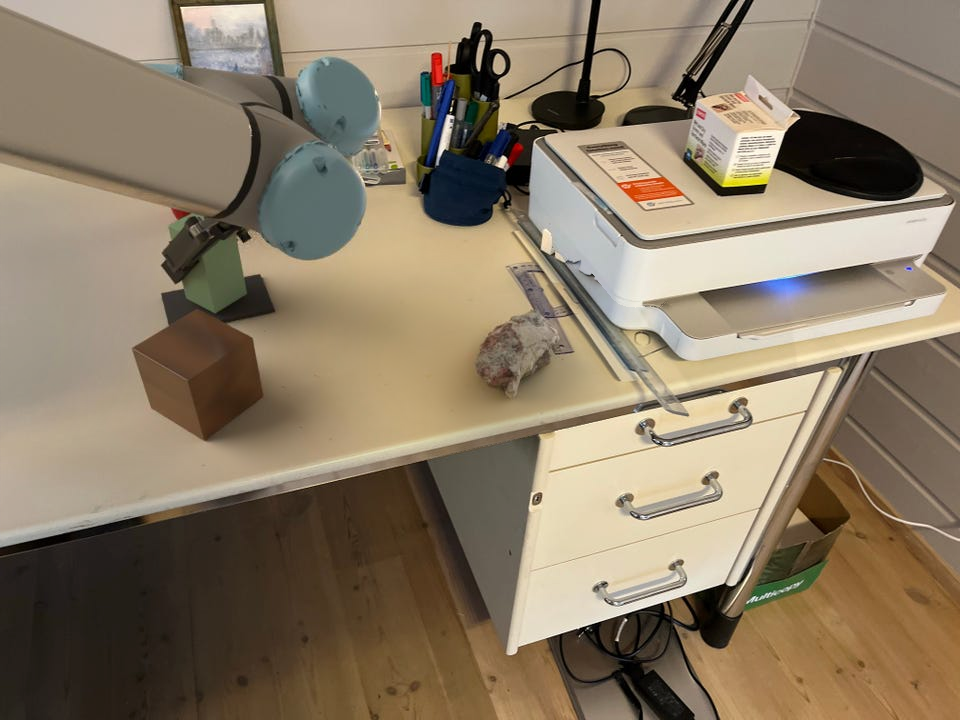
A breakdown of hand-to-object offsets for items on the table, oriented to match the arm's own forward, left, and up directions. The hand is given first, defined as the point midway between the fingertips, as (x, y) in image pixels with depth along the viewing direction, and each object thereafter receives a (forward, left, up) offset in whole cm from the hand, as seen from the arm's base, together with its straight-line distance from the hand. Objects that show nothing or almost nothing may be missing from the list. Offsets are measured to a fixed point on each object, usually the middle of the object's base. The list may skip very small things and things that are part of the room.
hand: (190, 262), depth 90 cm
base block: (-2, -20, -4) cm, 21 cm away
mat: (+2, -3, -4) cm, 6 cm away
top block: (+2, -3, -3) cm, 5 cm away
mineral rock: (+31, -26, -5) cm, 41 cm away
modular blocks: (+51, -13, -5) cm, 53 cm away
